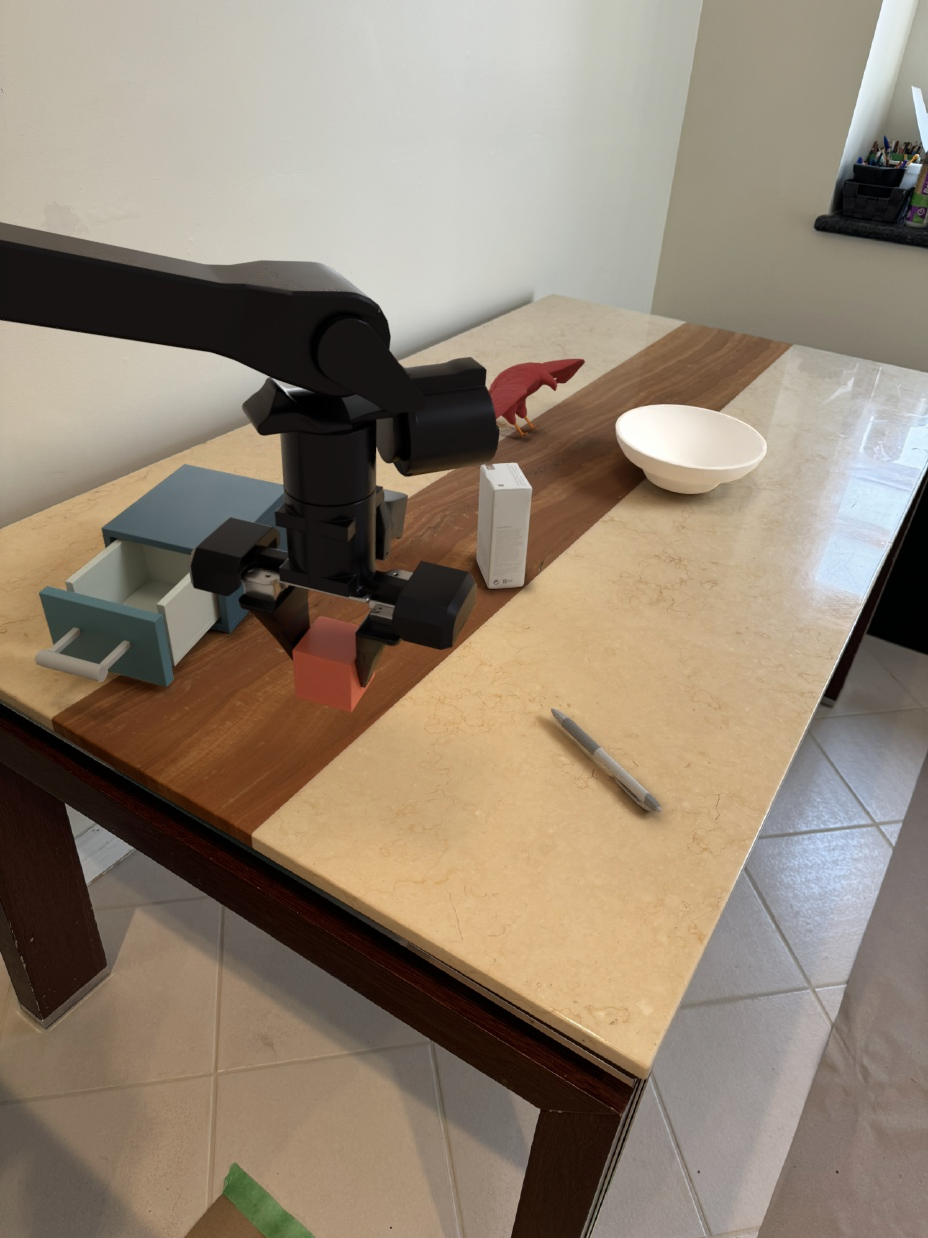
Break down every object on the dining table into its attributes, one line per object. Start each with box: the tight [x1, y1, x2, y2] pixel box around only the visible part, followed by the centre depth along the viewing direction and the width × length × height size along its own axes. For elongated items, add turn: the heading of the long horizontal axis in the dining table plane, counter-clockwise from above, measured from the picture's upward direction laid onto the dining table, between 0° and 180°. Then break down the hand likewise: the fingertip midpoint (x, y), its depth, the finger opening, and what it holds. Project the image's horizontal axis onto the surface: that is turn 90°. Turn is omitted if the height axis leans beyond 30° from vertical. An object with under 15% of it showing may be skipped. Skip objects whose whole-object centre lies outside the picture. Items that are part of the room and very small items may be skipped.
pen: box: [550, 707, 663, 814], centre depth 74 cm, size 1×14×1 cm, turn 34°
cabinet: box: [101, 463, 288, 634], centre depth 90 cm, size 15×13×9 cm
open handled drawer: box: [34, 539, 221, 688], centre depth 80 cm, size 18×11×7 cm, turn 163°
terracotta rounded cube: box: [292, 615, 376, 713], centre depth 63 cm, size 4×4×4 cm
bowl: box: [615, 403, 768, 495], centre depth 116 cm, size 20×20×7 cm
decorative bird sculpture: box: [488, 358, 586, 439], centre depth 125 cm, size 28×9×15 cm
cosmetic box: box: [476, 462, 533, 590], centre depth 93 cm, size 6×4×12 cm
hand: (335, 675), depth 63 cm, fingers closed on terracotta rounded cube, 4 cm apart
